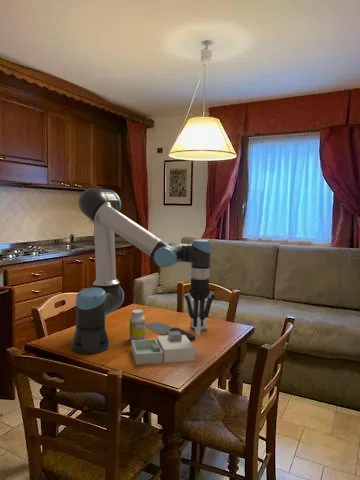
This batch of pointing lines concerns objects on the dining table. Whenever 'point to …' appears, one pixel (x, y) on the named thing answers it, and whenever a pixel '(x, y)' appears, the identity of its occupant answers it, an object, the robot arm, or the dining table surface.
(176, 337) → the slate tile
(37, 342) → the dining table surface
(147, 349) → the box
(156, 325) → the cleaver
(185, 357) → the plate
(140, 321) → the supplement bottle
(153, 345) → the slate tile
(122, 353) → the dining table surface
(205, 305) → the syrup box
